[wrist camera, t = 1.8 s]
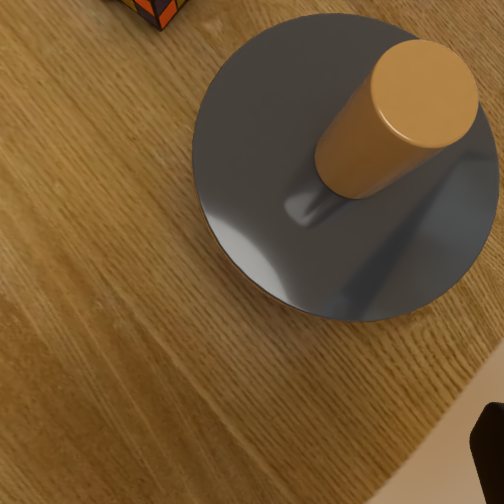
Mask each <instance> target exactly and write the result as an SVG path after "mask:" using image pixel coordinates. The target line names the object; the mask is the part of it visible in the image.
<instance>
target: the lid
mask: <svg viewBox="0 0 504 504" xmlns="http://www.w3.org/2000/svg"><path fill="white" fill-rule="evenodd" d="M192 176H193V184H194V190H195V194H196V198H197V202H198V206H199V209H200V212H201V214H202V217H203V219H204V222H205V224H206V227H207V229H208V231H209V233H210V234H211V236H212V238H213V240H214V241H215V243H216V245H217V247H218V248H219V250H220V251H221V252H222V254H223V255H224V256H225V258H226V259H227V260H228V262H229V263H230V264H231V265H232V266H233V267H234V268H235V270H236V271H237V272H238V273H239V274H240V275H241V276H242V277H243V278H244V279H245V280H246V281H248V282H249V283H250V284H251V285H253V286H254V287H255V288H256V289H258V290H259V291H260V292H262V293H263V294H264V295H266V296H268V297H269V298H271V299H273V300H274V301H276V302H278V303H279V304H281V305H283V306H285V307H288V308H290V309H292V310H295V311H297V312H299V313H302V314H305V315H309V316H312V317H316V318H320V319H324V320H332V321H339V322H372V321H379V320H386V319H391V318H395V317H398V316H401V315H405V314H408V313H411V312H413V311H415V310H417V309H419V308H422V307H424V306H426V305H428V304H429V303H431V302H433V301H434V300H436V299H437V298H439V297H440V296H442V295H443V294H445V293H446V292H447V291H448V290H449V289H450V288H452V287H453V286H454V285H455V284H456V283H457V282H458V281H459V280H460V279H461V278H462V277H463V276H464V275H465V273H466V272H467V271H468V270H469V269H470V268H471V266H472V265H473V263H474V262H475V260H476V259H477V257H478V256H479V254H480V252H481V251H482V249H483V247H484V245H485V242H486V240H487V238H488V236H489V234H490V231H491V228H492V225H493V222H494V218H495V215H496V209H497V204H498V198H499V181H500V175H499V162H498V155H497V150H496V145H495V140H494V137H493V134H492V131H491V127H490V124H489V121H488V119H487V117H486V115H485V113H484V110H483V108H482V106H481V104H480V102H479V99H478V90H477V85H476V82H475V79H474V77H473V75H472V73H471V71H470V69H469V68H468V66H467V65H466V64H465V62H464V61H463V60H462V59H461V58H460V57H459V56H458V55H457V54H456V53H454V52H453V51H452V50H450V49H449V48H447V47H445V46H443V45H441V44H439V43H436V42H433V41H428V40H421V39H419V38H418V37H416V36H415V35H413V34H411V33H409V32H407V31H405V30H403V29H401V28H399V27H397V26H395V25H392V24H389V23H386V22H383V21H381V20H378V19H374V18H369V17H365V16H360V15H353V14H342V13H327V14H315V15H309V16H302V17H298V18H295V19H292V20H288V21H285V22H282V23H280V24H277V25H275V26H273V27H271V28H269V29H266V30H264V31H263V32H261V33H260V34H258V35H257V36H255V37H253V38H252V39H250V40H249V41H247V42H246V43H245V44H244V45H243V46H241V47H240V48H239V49H238V50H237V51H236V52H234V53H233V54H232V56H231V57H230V58H229V59H228V60H227V61H226V62H225V64H224V65H223V66H222V67H221V68H220V70H219V71H218V73H217V74H216V76H215V77H214V79H213V80H212V82H211V83H210V85H209V87H208V89H207V92H206V94H205V96H204V98H203V100H202V102H201V105H200V109H199V112H198V115H197V118H196V122H195V128H194V134H193V141H192Z"/></svg>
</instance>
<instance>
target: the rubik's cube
mask: <svg viewBox="0 0 504 504" xmlns="http://www.w3.org/2000/svg"><path fill="white" fill-rule="evenodd" d="M121 1H122V2H124V3H125V4H126V5H128V6H129V7H130V8H131V9H133V10H134V11H135V12H137V13H138V14H139V15H140V16H142V17H143V18H144V19H146V20H147V21H148V22H149V23H151V24H152V25H153V26H154V27H156V28H157V29H158V30H160V31H162V30H163V28H164V27H165V26H166V25H167V23H168V22H169V21H170V20H171V18H172V17H173V16H174V14H175V13H176V12H177V11H178V9H179V8H180V7H181V6H182V4H183V3H184V2H185V1H186V0H121Z"/></svg>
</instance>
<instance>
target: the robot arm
mask: <svg viewBox="0 0 504 504" xmlns="http://www.w3.org/2000/svg"><path fill="white" fill-rule="evenodd" d="M469 443H470V449H471V452H472V456H473V459H474V463H475V466H476V470H477V473H478V477H479V480H480V483H481V487H482V490H483V494H484V497H485V501H486V504H504V403H499V402H491V403H489V404H487V405H486V406H485V408H484V410H483V412H482V413H481V415H480V417H479V418H478V420H477V422H476V424H475V426H474V428H473V430H472V431H471V434H470V441H469Z"/></svg>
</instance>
